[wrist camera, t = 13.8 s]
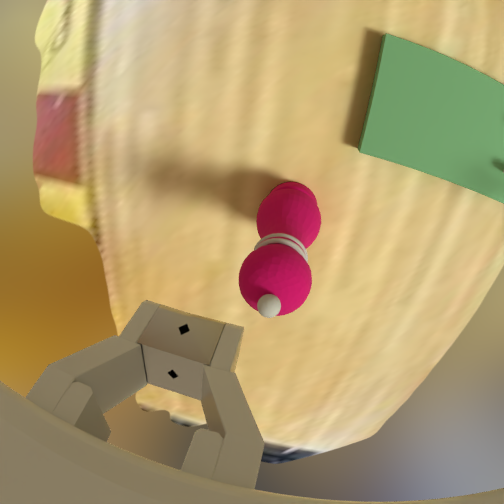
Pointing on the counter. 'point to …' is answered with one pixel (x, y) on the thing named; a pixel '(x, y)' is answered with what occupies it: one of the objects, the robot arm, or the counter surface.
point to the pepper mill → (281, 251)
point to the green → (436, 117)
